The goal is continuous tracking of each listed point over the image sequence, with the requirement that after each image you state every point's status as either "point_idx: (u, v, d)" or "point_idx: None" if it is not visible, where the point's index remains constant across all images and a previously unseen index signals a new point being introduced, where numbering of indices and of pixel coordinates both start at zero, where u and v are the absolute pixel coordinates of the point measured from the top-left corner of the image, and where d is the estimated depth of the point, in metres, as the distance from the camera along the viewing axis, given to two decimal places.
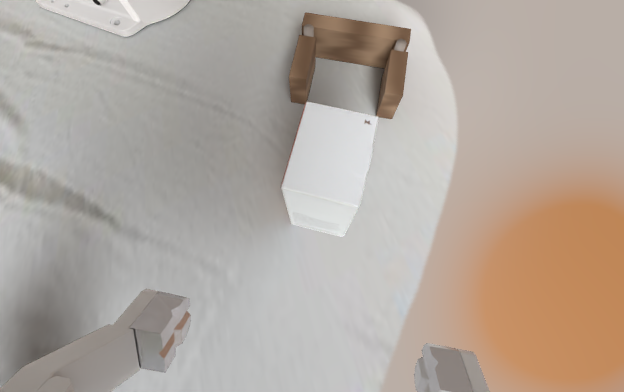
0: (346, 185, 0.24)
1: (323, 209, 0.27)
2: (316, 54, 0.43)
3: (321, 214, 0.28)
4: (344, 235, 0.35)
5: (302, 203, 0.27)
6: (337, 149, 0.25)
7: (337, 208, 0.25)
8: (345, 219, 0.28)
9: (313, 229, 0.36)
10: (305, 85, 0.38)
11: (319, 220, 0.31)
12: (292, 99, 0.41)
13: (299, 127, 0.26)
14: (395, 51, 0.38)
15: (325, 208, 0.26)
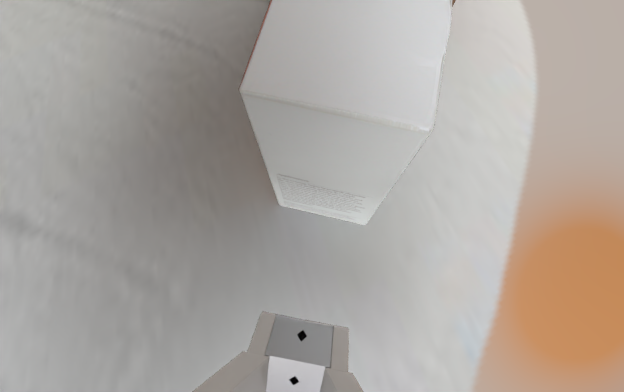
0: (397, 81, 0.10)
1: (338, 155, 0.12)
2: None
3: (332, 172, 0.14)
4: None
5: (293, 142, 0.12)
6: (370, 8, 0.11)
7: (372, 145, 0.11)
8: (382, 180, 0.14)
9: (315, 213, 0.21)
10: None
11: (327, 190, 0.17)
12: None
13: None
14: None
15: (343, 151, 0.12)
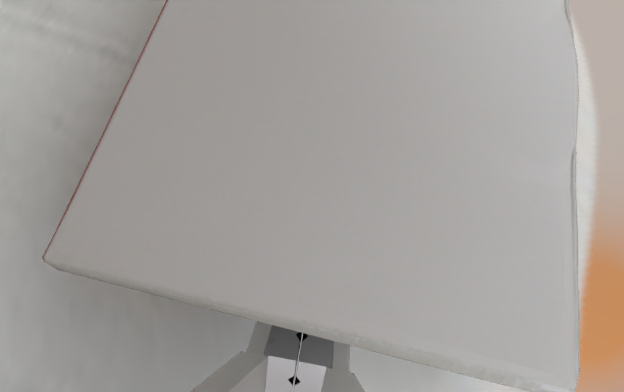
0: (466, 232, 0.04)
1: None
2: None
3: None
4: None
5: None
6: (387, 33, 0.05)
7: None
8: None
9: None
10: None
11: None
12: None
13: None
14: None
15: None
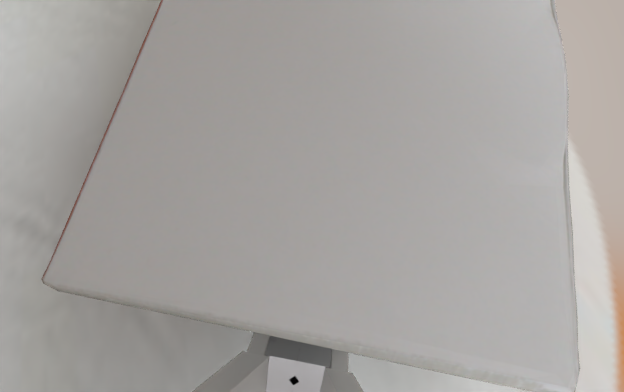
0: (463, 237, 0.04)
1: None
2: None
3: None
4: None
5: None
6: (379, 40, 0.05)
7: None
8: None
9: None
10: None
11: None
12: None
13: None
14: None
15: None
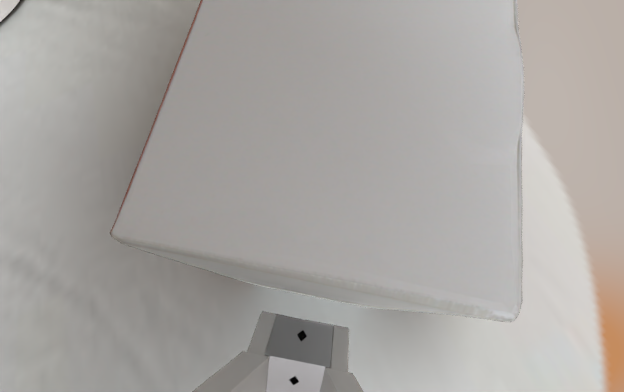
0: (436, 203, 0.05)
1: (326, 293, 0.07)
2: None
3: (319, 294, 0.09)
4: None
5: (247, 276, 0.07)
6: (372, 49, 0.06)
7: (386, 302, 0.06)
8: (398, 308, 0.09)
9: None
10: None
11: (315, 295, 0.11)
12: None
13: None
14: None
15: (333, 293, 0.07)
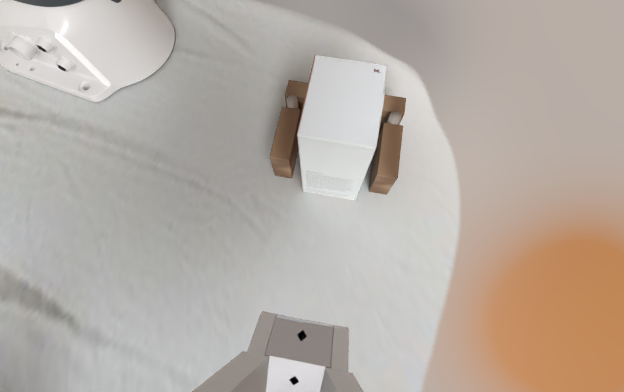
0: (361, 129, 0.25)
1: (338, 159, 0.27)
2: None
3: (335, 168, 0.29)
4: None
5: (317, 155, 0.27)
6: (349, 97, 0.26)
7: (353, 155, 0.26)
8: (359, 171, 0.28)
9: (325, 194, 0.36)
10: (288, 164, 0.34)
11: (332, 178, 0.31)
12: (276, 173, 0.37)
13: (310, 79, 0.26)
14: (388, 124, 0.34)
15: (340, 157, 0.27)
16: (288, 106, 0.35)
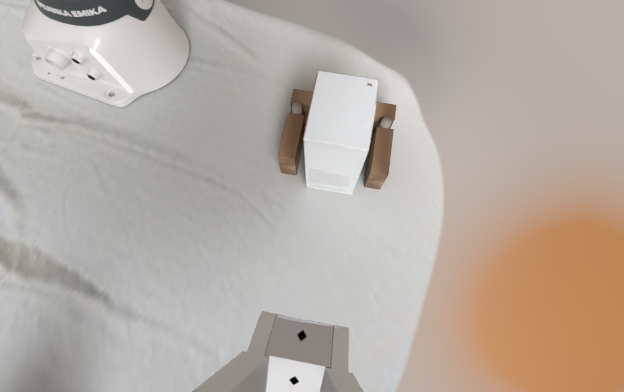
0: (356, 134, 0.30)
1: (337, 159, 0.32)
2: (305, 123, 0.44)
3: (335, 166, 0.34)
4: None
5: (319, 155, 0.32)
6: (346, 106, 0.31)
7: (349, 155, 0.31)
8: (355, 169, 0.34)
9: (325, 189, 0.41)
10: (294, 162, 0.39)
11: (332, 175, 0.36)
12: (282, 171, 0.42)
13: (314, 91, 0.31)
14: (381, 128, 0.39)
15: (339, 157, 0.32)
16: (293, 112, 0.40)
